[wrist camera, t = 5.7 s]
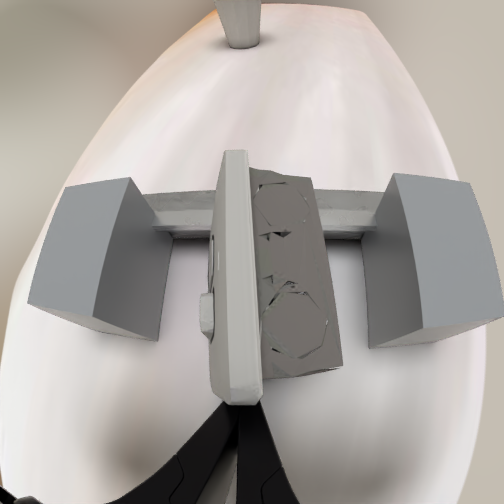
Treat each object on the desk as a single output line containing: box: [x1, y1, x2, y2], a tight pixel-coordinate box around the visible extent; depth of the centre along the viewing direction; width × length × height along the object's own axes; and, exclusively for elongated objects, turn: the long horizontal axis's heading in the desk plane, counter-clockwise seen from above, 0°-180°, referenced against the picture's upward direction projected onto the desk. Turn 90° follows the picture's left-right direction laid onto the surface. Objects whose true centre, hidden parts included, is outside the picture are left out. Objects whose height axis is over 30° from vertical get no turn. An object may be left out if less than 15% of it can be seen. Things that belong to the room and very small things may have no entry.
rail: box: [143, 189, 385, 239], centre depth 17 cm, size 2×24×4 cm, turn 87°
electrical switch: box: [199, 150, 343, 405], centre depth 12 cm, size 9×5×9 cm, turn 3°
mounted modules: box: [27, 173, 504, 348], centre depth 14 cm, size 7×23×7 cm, turn 87°
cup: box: [213, 0, 261, 49], centre depth 27 cm, size 8×8×15 cm
